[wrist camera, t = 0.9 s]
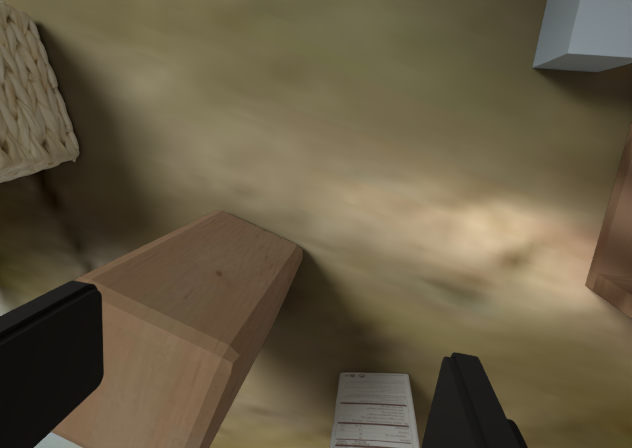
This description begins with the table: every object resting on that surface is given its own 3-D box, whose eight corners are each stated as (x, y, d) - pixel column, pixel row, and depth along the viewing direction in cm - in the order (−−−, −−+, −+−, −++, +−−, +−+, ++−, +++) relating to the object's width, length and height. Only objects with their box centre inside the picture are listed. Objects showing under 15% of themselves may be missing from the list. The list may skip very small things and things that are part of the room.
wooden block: (308, 246, 38) (240, 365, 18) (272, 327, 40) (180, 505, 21) (217, 204, 38) (57, 278, 19) (188, 288, 41) (21, 427, 21)
